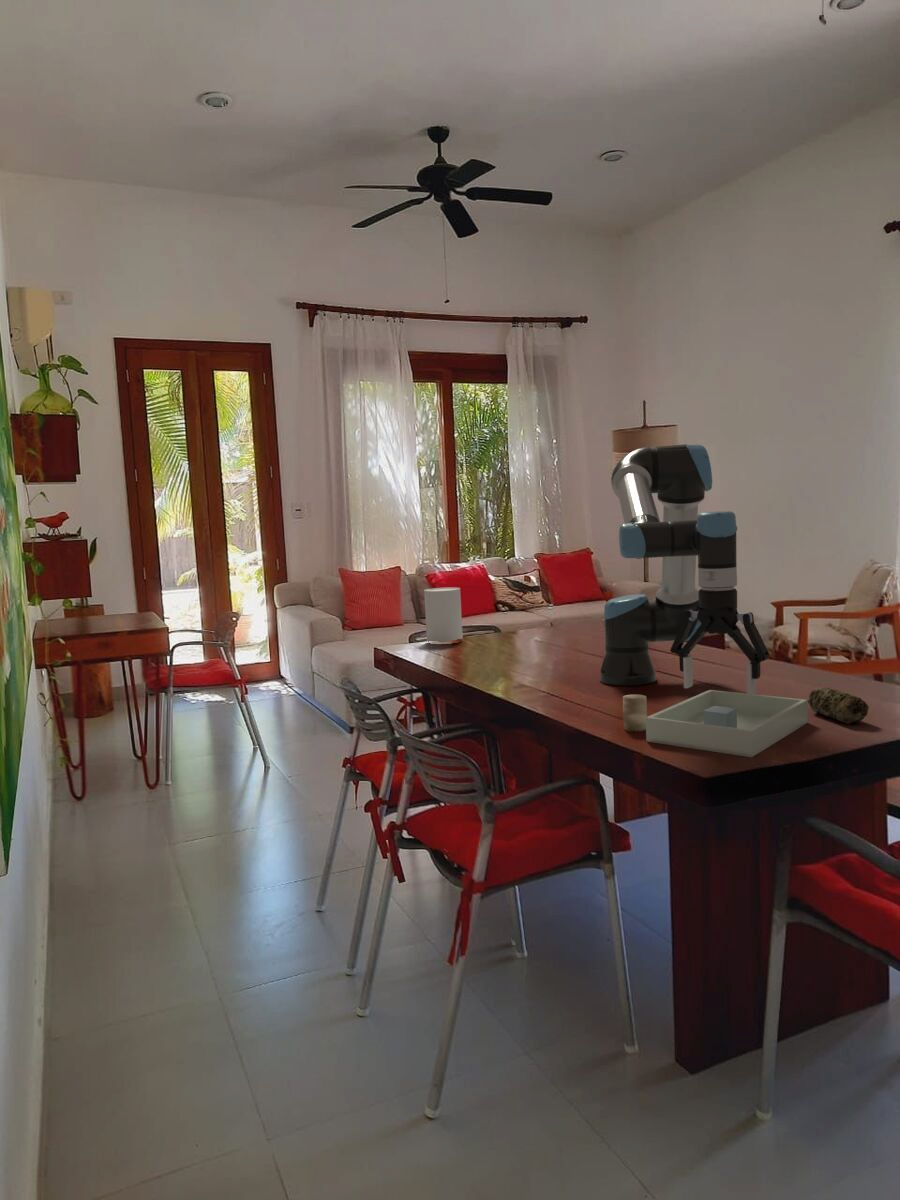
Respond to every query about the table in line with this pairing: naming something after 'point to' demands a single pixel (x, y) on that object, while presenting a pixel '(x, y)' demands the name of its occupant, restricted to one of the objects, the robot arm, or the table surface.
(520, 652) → the table surface
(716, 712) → the slate cube
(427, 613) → the canister
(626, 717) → the beech cylinder
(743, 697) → the tote
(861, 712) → the coral
